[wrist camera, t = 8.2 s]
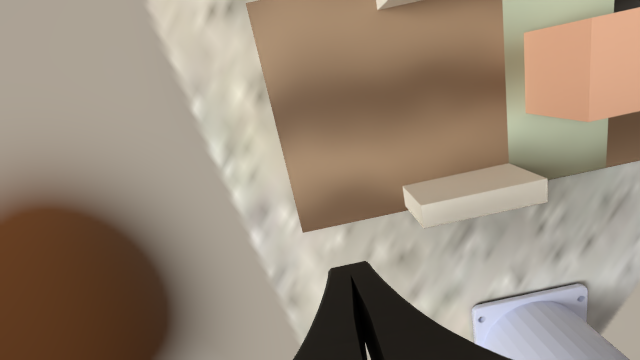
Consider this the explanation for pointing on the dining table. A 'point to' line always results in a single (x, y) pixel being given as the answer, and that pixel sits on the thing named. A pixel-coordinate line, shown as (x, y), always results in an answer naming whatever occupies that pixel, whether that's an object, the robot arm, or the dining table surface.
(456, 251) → the dining table surface
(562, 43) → the block
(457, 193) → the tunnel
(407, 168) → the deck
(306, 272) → the dining table surface
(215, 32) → the dining table surface
